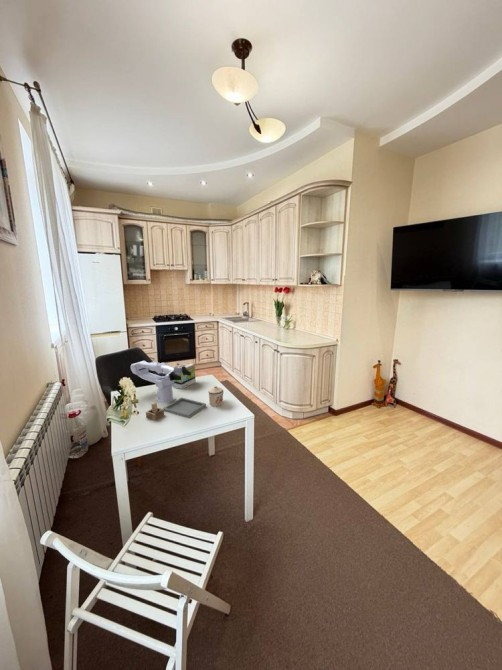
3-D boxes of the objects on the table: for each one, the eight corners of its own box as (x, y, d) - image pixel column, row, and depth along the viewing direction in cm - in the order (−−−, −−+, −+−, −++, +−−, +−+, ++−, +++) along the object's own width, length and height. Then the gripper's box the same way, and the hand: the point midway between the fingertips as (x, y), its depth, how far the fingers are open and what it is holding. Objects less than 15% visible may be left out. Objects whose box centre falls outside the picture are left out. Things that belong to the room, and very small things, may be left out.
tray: (163, 411, 162) (163, 408, 162) (181, 400, 176) (181, 397, 175) (188, 418, 153) (188, 415, 152) (206, 406, 166) (205, 403, 166)
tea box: (182, 389, 193) (180, 370, 190) (172, 387, 198) (170, 368, 195) (196, 382, 206) (194, 363, 203) (186, 380, 211) (184, 362, 207)
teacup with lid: (217, 407, 164) (216, 390, 162) (206, 404, 169) (204, 387, 167) (229, 400, 174) (228, 383, 172) (218, 397, 179) (217, 380, 176)
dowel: (151, 416, 155) (150, 404, 153) (155, 414, 158) (154, 402, 156) (155, 418, 154) (153, 405, 152) (159, 415, 156) (157, 403, 154)
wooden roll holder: (146, 418, 154) (145, 412, 154) (156, 413, 160) (155, 406, 160) (155, 421, 151) (154, 414, 150) (164, 415, 157) (163, 409, 156)
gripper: (160, 369, 162) (175, 374, 154) (178, 361, 173) (193, 365, 166) (161, 379, 164) (176, 385, 156) (179, 371, 175) (194, 376, 168)
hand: (185, 376), depth 161 cm, fingers open, 7 cm apart
